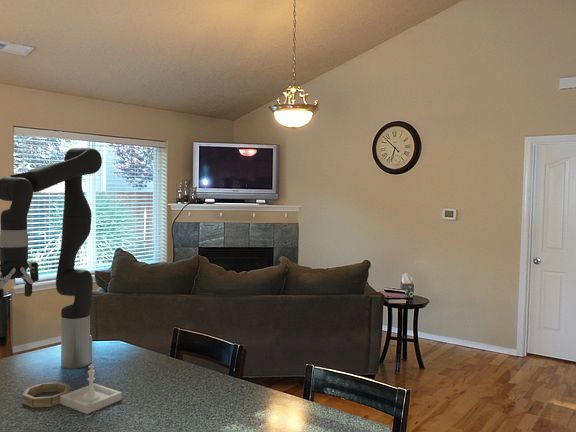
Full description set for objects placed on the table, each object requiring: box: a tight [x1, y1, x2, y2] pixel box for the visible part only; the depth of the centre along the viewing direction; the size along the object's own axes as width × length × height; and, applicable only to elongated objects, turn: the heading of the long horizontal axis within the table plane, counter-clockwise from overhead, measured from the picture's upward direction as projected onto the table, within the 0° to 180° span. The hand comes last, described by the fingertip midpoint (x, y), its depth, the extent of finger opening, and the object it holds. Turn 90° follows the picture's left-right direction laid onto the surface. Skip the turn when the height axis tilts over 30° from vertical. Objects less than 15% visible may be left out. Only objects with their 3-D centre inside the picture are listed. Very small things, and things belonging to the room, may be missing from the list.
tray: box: [60, 382, 123, 415], centre depth 155 cm, size 12×12×2 cm
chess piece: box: [82, 363, 100, 401], centre depth 155 cm, size 5×5×10 cm
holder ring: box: [22, 381, 71, 408], centre depth 156 cm, size 12×12×2 cm
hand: (14, 298), depth 160 cm, fingers open, 8 cm apart
